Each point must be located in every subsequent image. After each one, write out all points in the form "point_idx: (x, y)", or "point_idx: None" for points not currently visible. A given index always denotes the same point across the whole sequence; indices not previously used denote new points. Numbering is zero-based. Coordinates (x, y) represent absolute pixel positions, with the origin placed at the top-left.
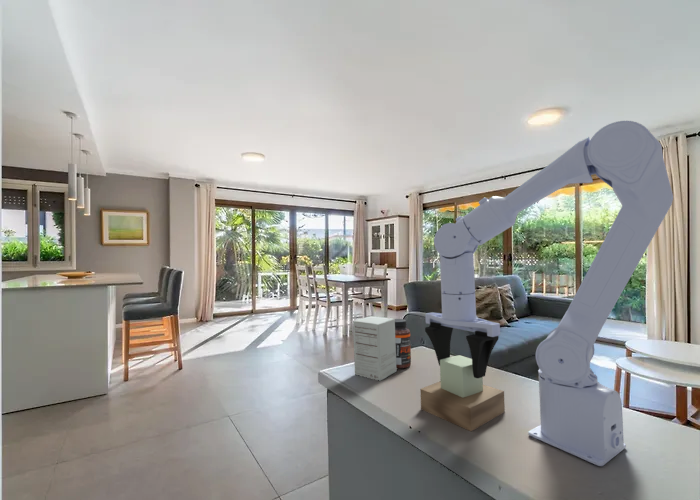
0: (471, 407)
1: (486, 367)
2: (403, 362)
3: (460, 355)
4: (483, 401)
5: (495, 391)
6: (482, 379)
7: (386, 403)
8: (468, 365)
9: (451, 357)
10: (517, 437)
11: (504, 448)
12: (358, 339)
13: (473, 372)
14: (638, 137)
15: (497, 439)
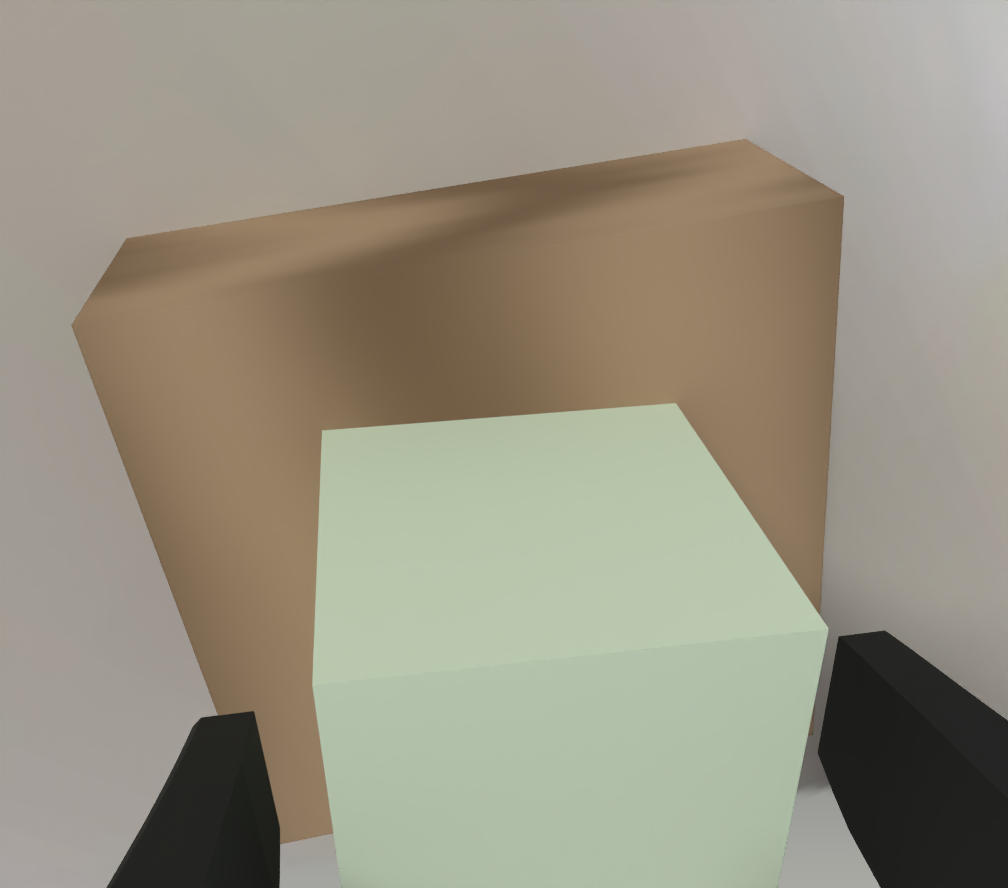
0: (812, 722)
1: (968, 696)
2: None
3: (343, 680)
4: (821, 578)
5: (778, 293)
6: (721, 472)
7: (52, 850)
8: (781, 862)
9: (355, 848)
10: (1000, 420)
11: (984, 581)
12: None
13: (851, 817)
14: None
15: (912, 544)
